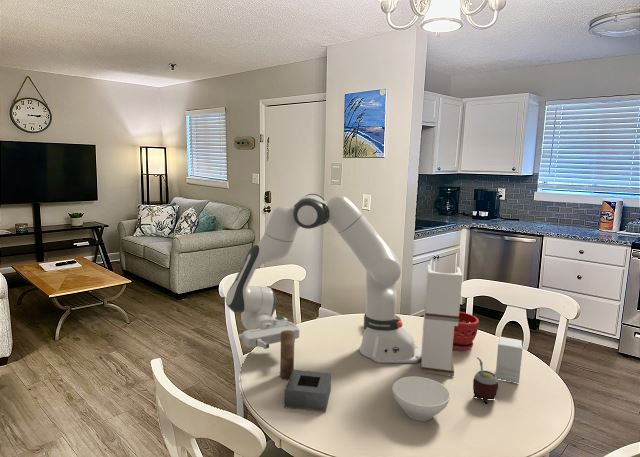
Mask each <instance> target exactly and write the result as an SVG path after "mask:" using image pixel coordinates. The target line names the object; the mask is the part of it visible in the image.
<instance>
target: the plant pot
mask: <svg viewBox="0 0 640 457" xmlns="http://www.w3.org/2000/svg"><path fill="white" fill-rule="evenodd" d="M479 323H480V321H479V318H478V317H476V316H475V315H472V314H470V313H468V312H463V311H459V321H458V326H454V336H453V348H452V350H458V351H468V350H470V349H471V348H473V347H474V342H473V341H474V340H475V338H476V336H477V333H478V331H479Z"/></svg>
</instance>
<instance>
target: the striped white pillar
mask: <svg viewBox="0 0 640 457" xmlns="http://www.w3.org/2000/svg"><path fill="white" fill-rule="evenodd" d="M431 267H432V266H431V264H427V269H426V270H427V271H426V282H425V283H426V286H425V296H424V298H425V299H424V311H423V323H422V324H423V325H422V327H423V328H422V339H421V340H422V341H421V351H420V353H421V358H420V372H422V373H423V374H429V373H431V374H430V375H437V374H440V375H439V376H444V375H450V376H449V377H452V376H455V369H454V368H455V367H454V362H453V336H454V326H458V322H459V321H460V319H459V312H460V310H461V307H460V305H461V295H462V284H463V283H462V282H463V273H462V271H461V268H460V267H459V266H456V269H455V272H453V273H448V272H445V273H444V272H438V271H434V270H433V269H432V268H431Z"/></svg>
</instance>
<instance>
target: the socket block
mask: <svg viewBox="0 0 640 457" xmlns="http://www.w3.org/2000/svg"><path fill="white" fill-rule="evenodd" d="M331 392H332V373H330V372H321V371H311V370H300V369H294V370H293V371H292V373H291V376H290V378H289V380H287V383H286V385H285V388H284V392H283V393H284V395H283V396H284V398H283V401H284V402H283V408H284V409H291V410H292V409H294V410H302V411H311V412H319V413H327V409H328V403H329V400H330V395H331Z"/></svg>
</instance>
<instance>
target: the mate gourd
mask: <svg viewBox="0 0 640 457" xmlns="http://www.w3.org/2000/svg"><path fill="white" fill-rule="evenodd" d="M476 359H477V360H478V361H479V365H480V370H479V371H478V372H476V373H475V375H474V377H473V380H472V382H473V383H472V390H473V398H474V397H477V398H483V400H484V401H483V400H482V401H483V404H484V403H485V404H487V405H488V402H487V401H488V400H487V399H494V398H495V399H496V396H497V393H498V390H499V380H498V379H497V377H496V373H495V374H494V373H493V372H491V371H489V370H483V367H484V366H483V365H484V364H483V360H482V359H480V358H479V356H477V357H476ZM485 404H484V405H485Z"/></svg>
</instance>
